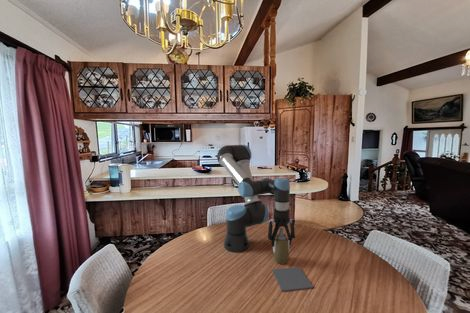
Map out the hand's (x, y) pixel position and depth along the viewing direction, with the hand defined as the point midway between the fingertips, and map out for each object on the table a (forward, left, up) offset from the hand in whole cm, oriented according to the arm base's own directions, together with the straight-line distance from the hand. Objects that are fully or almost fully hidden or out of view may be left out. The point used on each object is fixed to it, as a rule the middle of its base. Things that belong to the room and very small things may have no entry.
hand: (281, 251), depth 111 cm
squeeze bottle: (0, 0, -6) cm, 6 cm away
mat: (0, -14, -5) cm, 15 cm away
